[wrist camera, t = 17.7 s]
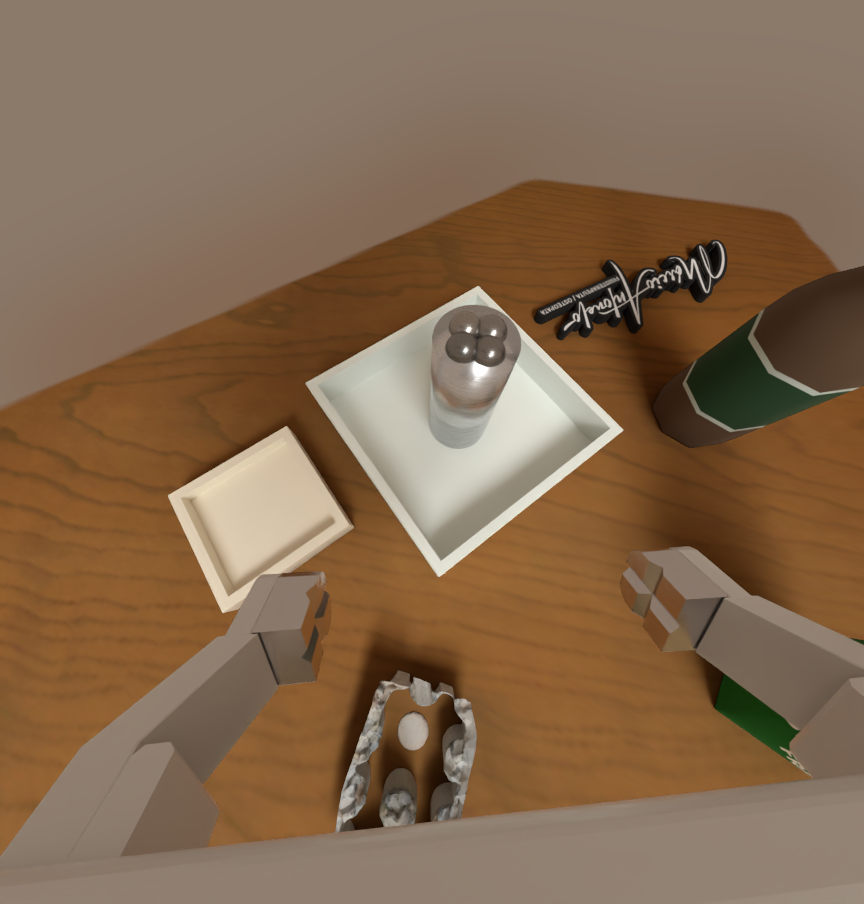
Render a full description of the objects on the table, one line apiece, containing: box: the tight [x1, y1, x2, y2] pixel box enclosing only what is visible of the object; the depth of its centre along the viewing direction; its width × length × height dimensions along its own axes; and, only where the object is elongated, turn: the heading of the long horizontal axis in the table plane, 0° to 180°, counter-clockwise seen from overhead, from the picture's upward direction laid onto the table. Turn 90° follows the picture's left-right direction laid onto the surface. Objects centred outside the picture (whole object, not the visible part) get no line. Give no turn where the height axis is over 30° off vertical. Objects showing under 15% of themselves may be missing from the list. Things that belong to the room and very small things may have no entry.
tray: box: [168, 426, 355, 613], centre depth 27 cm, size 11×11×2 cm
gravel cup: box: [429, 305, 521, 449], centre depth 25 cm, size 6×6×13 cm
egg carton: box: [335, 670, 477, 833], centre depth 21 cm, size 11×8×4 cm
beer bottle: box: [652, 266, 864, 448], centre depth 21 cm, size 8×8×24 cm
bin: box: [305, 286, 623, 577], centre depth 30 cm, size 20×20×4 cm
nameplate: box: [534, 240, 727, 340], centre depth 38 cm, size 27×2×10 cm
